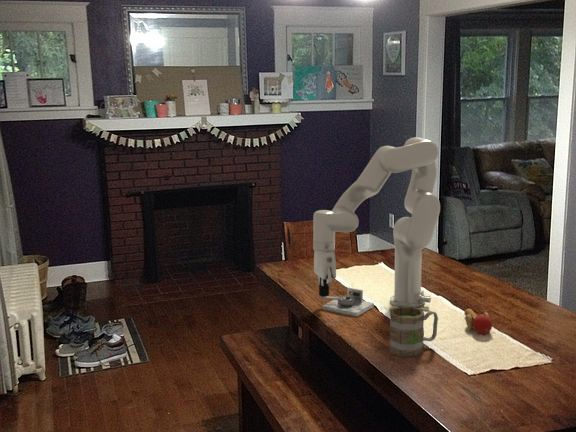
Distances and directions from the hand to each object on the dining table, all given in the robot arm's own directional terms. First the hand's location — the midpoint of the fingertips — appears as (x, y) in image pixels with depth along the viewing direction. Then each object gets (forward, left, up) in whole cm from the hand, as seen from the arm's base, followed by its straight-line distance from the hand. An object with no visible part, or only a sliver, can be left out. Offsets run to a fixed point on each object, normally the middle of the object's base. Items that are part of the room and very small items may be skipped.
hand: (324, 295), depth 233 cm
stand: (-6, -6, -5) cm, 10 cm away
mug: (-41, +14, -6) cm, 44 cm away
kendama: (-50, -14, -6) cm, 53 cm away
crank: (-3, -5, -3) cm, 7 cm away
